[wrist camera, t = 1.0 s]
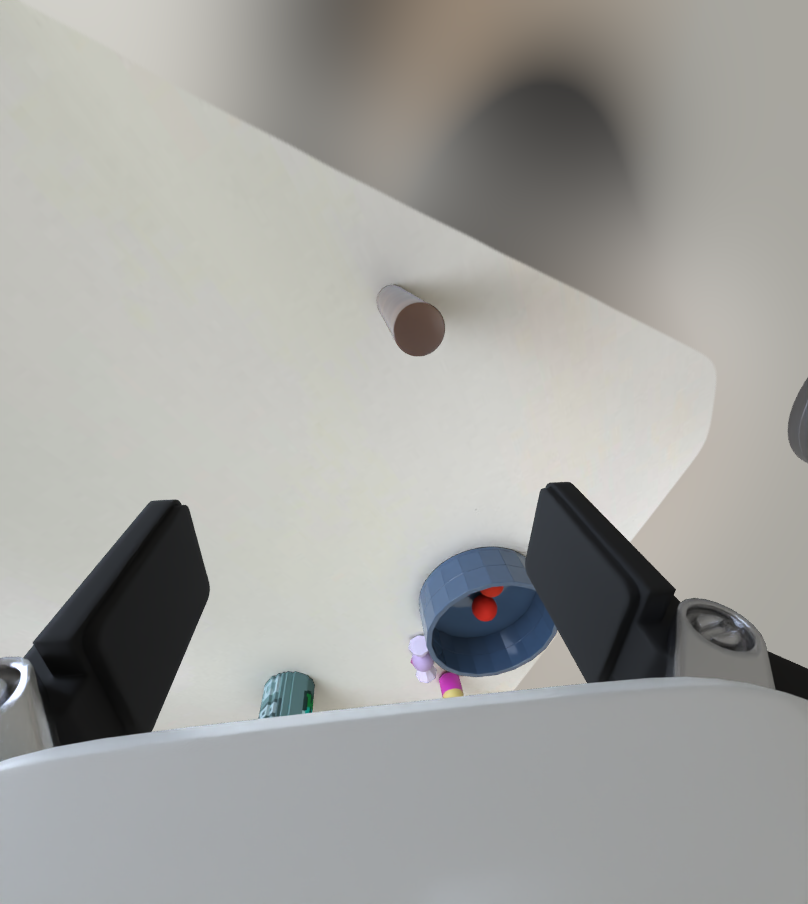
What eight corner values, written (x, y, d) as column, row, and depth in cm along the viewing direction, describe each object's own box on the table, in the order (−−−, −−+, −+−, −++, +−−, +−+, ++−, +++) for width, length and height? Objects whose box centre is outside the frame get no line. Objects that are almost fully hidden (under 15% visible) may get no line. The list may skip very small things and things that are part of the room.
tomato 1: (491, 560, 45) (500, 579, 42) (503, 574, 46) (512, 594, 44) (469, 573, 45) (476, 592, 43) (481, 587, 47) (489, 607, 44)
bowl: (504, 524, 44) (523, 558, 39) (557, 598, 50) (579, 634, 45) (394, 591, 46) (399, 631, 41) (459, 653, 53) (470, 693, 48)
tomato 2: (485, 585, 47) (493, 604, 44) (496, 598, 48) (505, 618, 45) (464, 597, 47) (471, 617, 45) (476, 610, 48) (483, 630, 46)
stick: (396, 277, 31) (426, 290, 18) (414, 305, 32) (454, 336, 20) (370, 298, 31) (382, 324, 19) (388, 325, 32) (412, 366, 20)
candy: (389, 641, 50) (394, 688, 44) (450, 627, 50) (462, 672, 45) (412, 719, 58) (418, 766, 53) (464, 706, 58) (475, 752, 53)
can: (298, 705, 53) (280, 854, 40) (257, 693, 51) (224, 846, 38) (322, 680, 52) (311, 826, 38) (280, 666, 49) (254, 817, 36)
